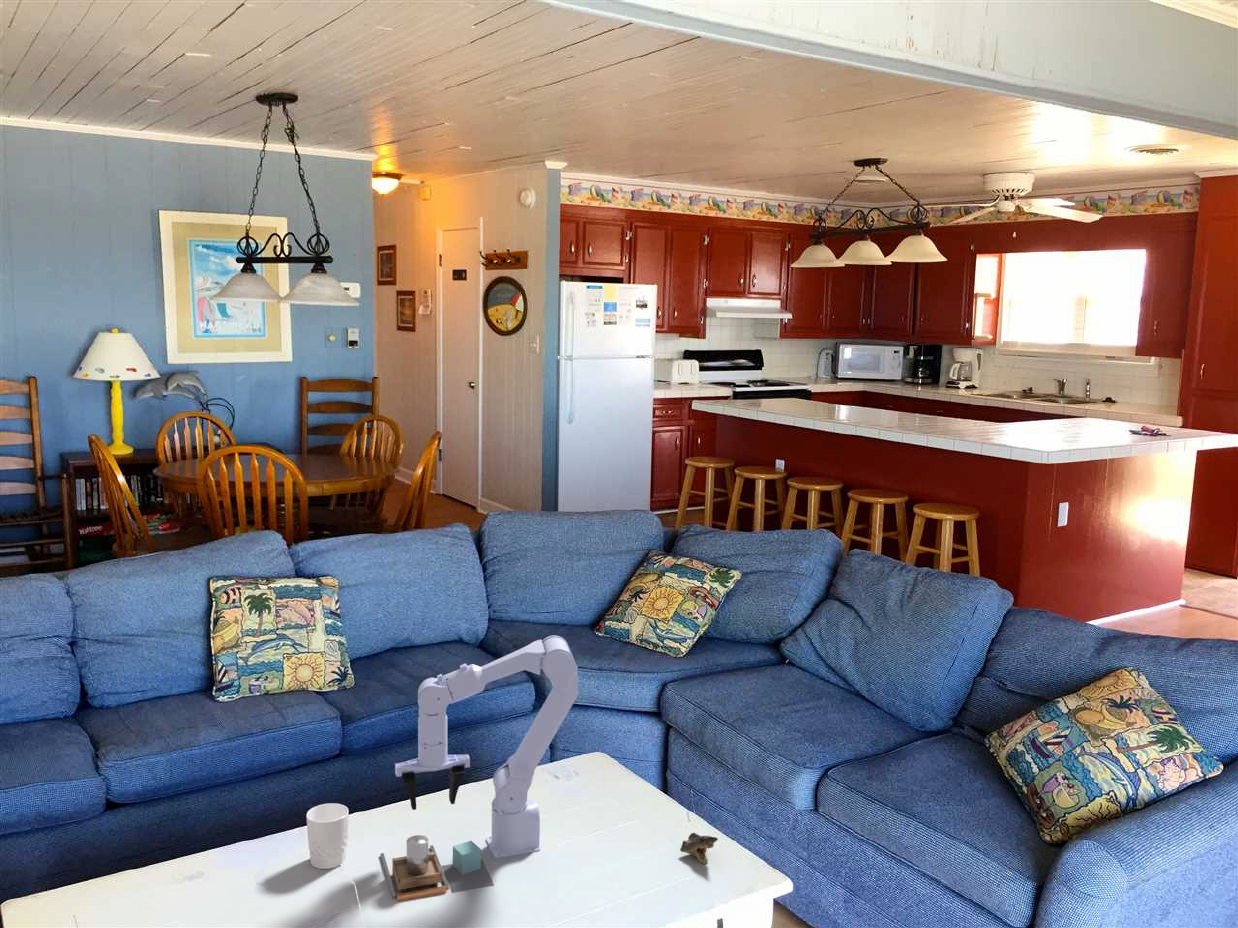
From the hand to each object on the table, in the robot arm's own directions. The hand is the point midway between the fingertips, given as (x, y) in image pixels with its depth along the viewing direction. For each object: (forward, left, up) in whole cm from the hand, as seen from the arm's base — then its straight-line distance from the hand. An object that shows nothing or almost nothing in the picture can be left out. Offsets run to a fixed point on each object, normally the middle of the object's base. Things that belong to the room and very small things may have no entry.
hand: (432, 804), depth 201 cm
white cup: (+20, -3, -10) cm, 23 cm away
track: (+5, +7, -10) cm, 13 cm away
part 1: (+5, +11, -7) cm, 14 cm away
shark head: (-50, +20, -10) cm, 55 cm away
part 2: (-5, +9, -10) cm, 14 cm away
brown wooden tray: (+5, +11, -10) cm, 15 cm away
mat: (-4, +12, -10) cm, 16 cm away
